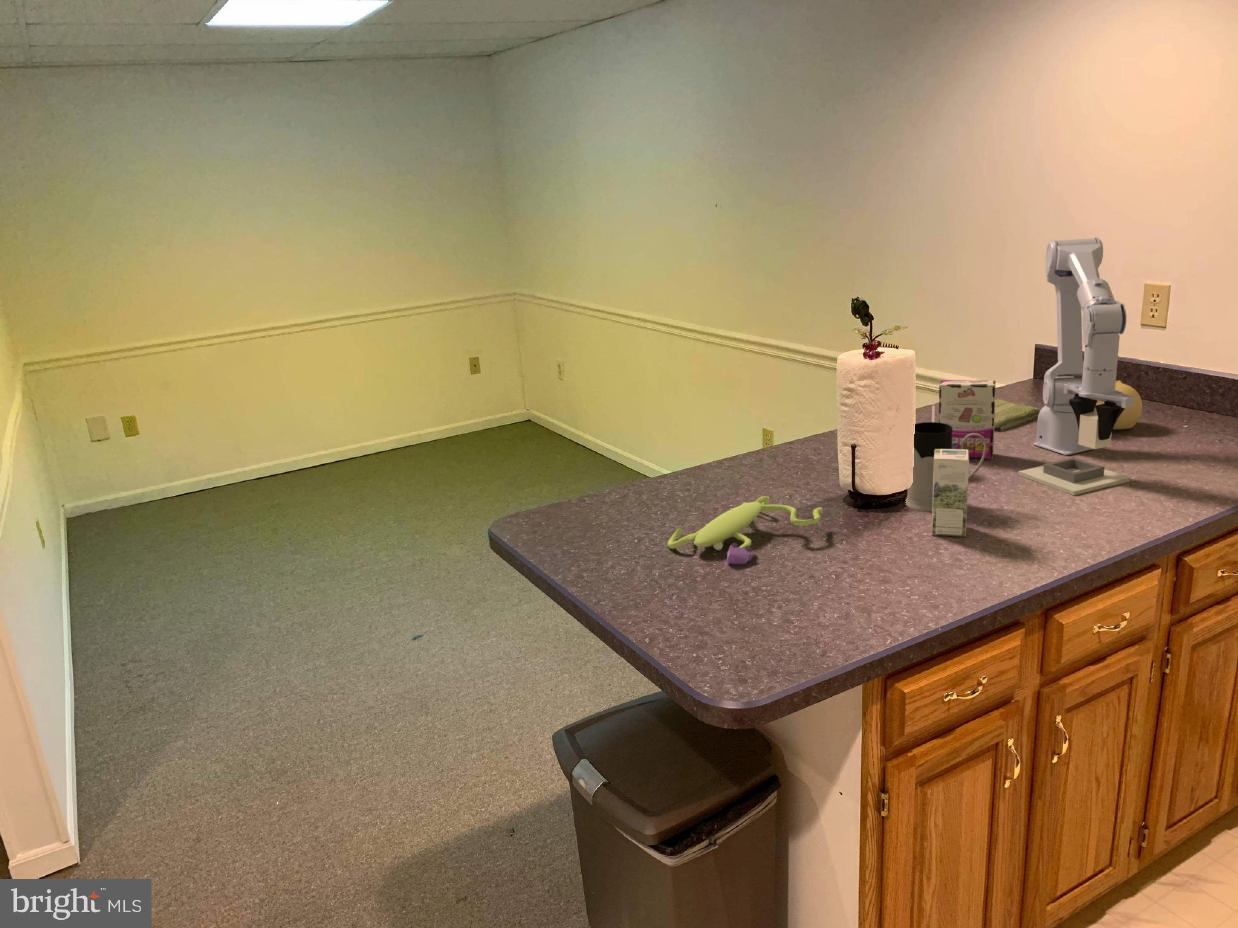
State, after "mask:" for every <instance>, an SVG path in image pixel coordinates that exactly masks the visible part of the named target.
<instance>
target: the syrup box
mask: <svg viewBox="0 0 1238 928" xmlns="http://www.w3.org/2000/svg"><path fill="white" fill-rule="evenodd" d="M969 472H970V459H969V451H968V450H962V449H935V453H934V473H933V506H932V512H931V513H932V515H931V535H932V536H944V537H945V536H946V537H960V538H961V537H962V538H963V537H966V536H967V516H968V515H967V514H968V495H969V493H968V491H969V479H968V476H969V474H970V473H969Z"/></svg>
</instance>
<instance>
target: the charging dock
mask: <svg viewBox="0 0 1238 928" xmlns="http://www.w3.org/2000/svg"><path fill="white" fill-rule="evenodd" d="M1017 474H1018V476H1020V477H1023V478H1026V479H1028V480H1031V481H1034V482H1036V483H1040V484H1041V485H1044V486H1047V487H1050V488H1052V489H1055V490H1058V491H1060V492H1062V493H1063V492H1064V493H1065V494H1069V495H1072V496H1077V495H1081V494H1084V493H1085V494H1086V493H1089V492H1092V491H1093V492H1094V491H1098V490H1101V489H1105V488H1108V487H1113V486H1117V485H1120V484H1121V485H1122V484H1125V483H1128V482H1131V477H1130V476H1127V475H1123V474H1120V473H1117V472H1115V471H1111V470H1108V469H1105V466H1102V465H1098V464H1095V463H1094V462H1093V463H1092V462H1089V461H1087V460H1082V459H1080V458H1077V457H1074V456H1072V457H1069V458H1064V459H1060V460H1056V461H1051V462H1048V463H1044V464H1043V465H1040V466H1036V467H1035V466H1034V467H1031V468H1026V469H1023V470H1018V473H1017Z"/></svg>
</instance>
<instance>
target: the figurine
mask: <svg viewBox="0 0 1238 928" xmlns="http://www.w3.org/2000/svg"><path fill="white" fill-rule="evenodd" d="M769 503H770V497H769V496H765V495H762V496H760V497H758V498H757V499H756V500H755V501H751V502H743V503H741V504H740V505H739V506H738V505H737V506H736V507H732V508H731V509H728V510H727V511H725V512H724V513H722V514H719V515H718V516H717V517H715V518H714V519H712V520H711V521H709V522H708V523H707V524H706V525H705V526H704V527H702V528H701V529H699V530H698V531H696V532H693V533H689V534H687V535H685V536H683V537H681V538H680V536H681V535H682V534H683V532H684V529H683V528H682V527H678V528H677V529H676V530H675V532H674V533H673V534H672V536H670V538H669V539H668V541H667V548H669V549H676V548H680V547H682V546H684V545H685V544H687V543H689V542H691V541H692V540H693V539H694V542H693V544H694V545H695V546H697V547H699V548H704V547H705V548H709V547H711V546H712V545H713V549H715V550H716V551H718V552H720V551H721V549H723V546H724V544H725V543H724V542H725V540H727V539H729V538H730V537H732V536H733V537H734V538H735V539H736V540H739V541H742V542H743V544H741V545H740V546H738V543H736V542H732V543H731V544H730V546H729V548H728V551H726V563H727V564H733V565H745V564H746V563H747V562H751V561H752V559H753V557H754V555H755V550H752V547H751V546H752V539H750V538H749V537H747V536H746V535H744V534H742V533H740V531H742V530H744V529H745V528H746V527H748V526H749V525H750V524H751V523H752V522H753V521H754V520H756V518H757V517H758V515H759V514H760V513H761V512H774V511H775V512H785V513H789V514H790V517H789V520H790V523H791V525H794V526H801V527H802V526H806V525H807V526H808V525H813V524H816V523H818V522H819V521H820V520H821V515H820V514H824V509H823V508H822V507H817V508H814V509H813V511H812V516H813V518H811V519H809V518H808V519H798V518H797V513H798V511H797V508H795V507H793V506H790V505H788V504H787V505H785V504H769Z"/></svg>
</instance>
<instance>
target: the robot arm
mask: <svg viewBox="0 0 1238 928" xmlns="http://www.w3.org/2000/svg"><path fill="white" fill-rule="evenodd" d="M1103 257H1104V245H1103V242H1102V240H1101V239H1100V237H1092V238H1078V239H1077V238H1076V239H1062V240H1061V239H1059V240H1056V239H1052V240H1050V241H1049V243H1047V246H1046V252H1045V277H1046V282H1048V283H1049V284H1052V285H1053V286H1054V289H1055V294H1056V295H1055V297H1056V325H1057V327H1056V328H1057V330H1056V331H1057V332H1056V333H1057V362H1056V364H1054V365H1053V366H1052V367H1050V368H1049V369H1047V370H1046V371H1045V374H1044V376H1043V385H1042V400H1043V404H1044V406H1043V407H1042V408H1041V409H1040V413H1039V415H1038V417H1037V424H1036V425H1037V427H1036V440H1035V442H1034V441H1033V446H1036V447H1040V448H1042V449H1045V450H1049V451H1052V452H1055V453H1059V454H1061V455H1064V456H1069V455H1073V454H1078V453H1083V452H1087V451H1090V450H1093V449H1092V448H1089V447H1086V446H1082V445H1079V444H1078V439H1079V426H1080V415H1081V414H1086V413H1091V412H1094V409H1095V408H1096V411H1097V415H1098V422H1099V426H1098V437H1099V440H1106V439H1109V438H1110V435H1111V432H1113V430H1114V429H1113V427H1114V425H1115V423H1116V421H1117V419H1118V418H1119V416H1120V415H1121V413H1122V412H1123V411H1124V409H1125V408H1130V407H1133V406H1134V397H1133V396H1129V395H1126V394H1124V393H1122V392H1119V391H1117V390H1115V384H1116V381H1117V369H1118V361H1119V359H1118V358H1119V350H1120V349H1119V348H1120V340H1121V339H1120V338H1121V335H1123V334H1124V332H1125V329H1126V326H1127V317H1128V316H1127V309H1126V307H1125V304H1124V303H1123V302H1120V301H1119V300H1115V297H1114V294H1113V293H1112V292H1113V291H1112V290H1111V287H1110V284H1109V283H1108V281H1106V280H1105V279H1102V278H1100V277H1101V276H1100V271H1099V267H1100V265H1101V264H1102V262H1103ZM1083 344H1084V354H1083ZM1068 376H1074V378H1055V377H1068ZM1097 401H1102V402H1104V404H1100V405H1096V403H1097ZM1111 436H1112V435H1111Z"/></svg>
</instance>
